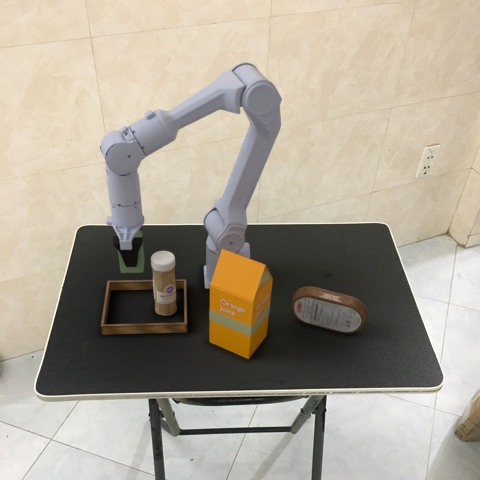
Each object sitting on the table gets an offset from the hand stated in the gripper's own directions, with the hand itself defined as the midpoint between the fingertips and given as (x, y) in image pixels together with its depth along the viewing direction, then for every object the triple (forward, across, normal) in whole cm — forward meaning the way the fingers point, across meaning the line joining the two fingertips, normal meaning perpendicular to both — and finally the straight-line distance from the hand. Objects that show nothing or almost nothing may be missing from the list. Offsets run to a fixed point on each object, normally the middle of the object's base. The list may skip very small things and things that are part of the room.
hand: (132, 258), depth 110 cm
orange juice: (+10, +14, +20) cm, 27 cm away
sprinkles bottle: (+10, +5, +6) cm, 13 cm away
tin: (+10, +12, +38) cm, 41 cm away
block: (+2, 0, 0) cm, 2 cm away
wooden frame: (+9, +5, +2) cm, 11 cm away
